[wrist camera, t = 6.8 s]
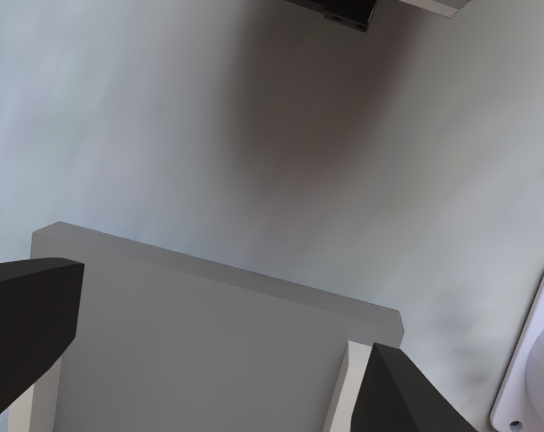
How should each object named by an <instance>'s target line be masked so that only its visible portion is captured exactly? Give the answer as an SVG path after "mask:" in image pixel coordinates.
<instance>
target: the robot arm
mask: <svg viewBox="0 0 544 432" xmlns="http://www.w3.org/2000/svg"><path fill="white" fill-rule="evenodd" d="M84 267H85V264H84V263H81V262H77V261H73V260H70V259H66V258H62V257H49V258H37V259H28V260H21V261H13V262H6V263H0V414H1V413H2V412H3V411H4V410H5V409H6V408H7V407H9V406H10V405H11V404H12V403H13V402H14V401H15V400H16V399H17V398H19V397H20V396H21V395H22V394H23V393H24V392H25V391H26V390H27V389H29V388H30V387H31V386H32V385H33V384H34V383H35V382H36V381H37V380H38V379H39V378H40V377H42V376H43V375H44V374H45V373H46V372H47V371H48V370H49V369H50V368H51V367H52V366H53V364H54V363H55V362H56V361H57V360H58V359H59V358H60V356H61V355H62V354H63V353H64V351H65V350H66V349H67V348H68V346H69V345H70V344H71V343H72V341H73V340H74V339H75V337H76V329H77V322H78V314H79V306H80V298H81V291H82V283H83V275H84ZM490 421H491V424H492V426H493V427H494V428H495V430H497V431H499V432H544V277H543V279H542V282H541V284H540V287H539V290H538V292H537V295H536V297H535V300H534V303H533V305H532V308H531V310H530V313H529V315H528V318H527V321H526V323H525V326H524V328H523V331H522V334H521V336H520V339H519V341H518V344H517V347H516V349H515V352H514V354H513V357H512V360H511V362H510V365H509V367H508V370H507V373H506V375H505V378H504V380H503V383H502V386H501V388H500V391H499V393H498V396H497V399H496V401H495V404H494V406H493V409H492V412H491V414H490ZM513 421H519V423H518V424H517V425H515V426H511V425H510V424H511V422H513ZM350 432H478V431H477V430H476V429H475V428H474V427H473V426H472V425H471V424H470V423H468V422H467V421H466V420H465V419H464V418H463V417H462V416H461V415H460V414H459V413H458V412H457V411H456V410H455V409H454V408H453V407H452V405H451V404H450V403H449V402H448V401H447V400H446V399H445V398H444V397H443V396H442V395H441V394H440V393H439V392H438V390H437V389H436V388H435V387H434V386H433V385H432V384H431V383H430V381H429V380H428V379H427V378H426V377H425V376H424V375H423V373H422V372H421V371H420V370H419V369H418V368H417V367H416V365H415V364H414V363H413V362H412V361H411V360H410V359H409V358H408V356H407V355H406V354H405V353H404V352H403V351H401V350H400V349H398V348H394V347H390V346H387V345H383V344H379V343H376V342H374V343H373V346H372V349H371V353H370V356H369V359H368V363H367V366H366V369H365V373H364V376H363V379H362V383H361V386H360V389H359V392H358V396H357V399H356V402H355V406H354V409H353V412H352V416H351V425H350Z"/></svg>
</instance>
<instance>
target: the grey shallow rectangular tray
mask: <svg viewBox="0 0 544 432" xmlns="http://www.w3.org/2000/svg"><path fill="white" fill-rule="evenodd" d="M49 257H62V258H66V259H70V260H73V261H77V262H81V263H84V264H85V267H84V275H83V283H82V291H81V298H80V306H79V314H78V322H77V329H76V337H75V339H74V340H73V341H72V343H71V344H70V345H69V346H68V348H67V349H66V350H65V351H64V353H63V354H62V355H61V356H60V358H59V359H58V360H57V361H56V362H55V363H54V364H53V366H52V367H51V368H50V369H49V370H48V371H47V372H46V373H45V374H44V375H43V376H42V377H40V378H39V379H38V380H37V381H36V382H35V383H34V384H33V385H32V386H31V387H30V388H29V389H27V390H26V391H25V392H24V393H23V394H22V395H21V396H20V397H19V398H17V399H16V400H15V401H14V402H13V403H12V404H11V405H10V406H9V412H8V423H7V432H350V425H351V416H352V412H353V409H354V406H355V402H356V399H357V396H358V392H359V389H360V386H361V383H362V379H363V376H364V373H365V369H366V366H367V363H368V359H369V356H370V353H371V349H372V346H373V343H374V342H376V343H379V344H383V345H387V346H390V347H394V348H398V349H399V347H400V344H401V341H402V338H403V335H404V328H403V324H402V320H401V317H400V313H399V311H397V310H393V309H389V308H386V307H382V306H378V305H374V304H370V303H367V302H363V301H359V300H355V299H351V298H348V297H344V296H340V295H336V294H333V293H329V292H325V291H321V290H317V289H314V288H310V287H306V286H302V285H298V284H295V283H291V282H287V281H283V280H279V279H276V278H272V277H268V276H264V275H261V274H257V273H253V272H249V271H245V270H242V269H238V268H234V267H230V266H226V265H223V264H219V263H215V262H211V261H208V260H204V259H200V258H196V257H192V256H189V255H185V254H181V253H177V252H173V251H170V250H166V249H162V248H158V247H154V246H151V245H147V244H143V243H139V242H136V241H132V240H128V239H124V238H120V237H117V236H113V235H109V234H105V233H101V232H98V231H94V230H90V229H86V228H83V227H79V226H75V225H71V224H67V223H64V222H57V223H54V224H52V225H49V226H47V227H44V228H42V229H39V230H37V231H34V232H33V234H32V244H31V254H30V259H37V258H49Z"/></svg>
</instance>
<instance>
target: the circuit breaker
mask: <svg viewBox="0 0 544 432" xmlns="http://www.w3.org/2000/svg"><path fill="white" fill-rule="evenodd" d="M287 1H289V2H292V3H295V4H298V5H300V6H303V7H306V8H309V9H312V10H314V11H317V12H320V13H323V14H324V17H325V18H326V19H329V20H331V21H334V22H337V23H340V24H343V25H345V26H348V27H351V28H354V29H356V30H359V31H362V32H367V30H368V27H369V24H370V21H371V19H372V16H373V13H374V10H375V8H376V5H377V2H378V0H287ZM398 1H401V2H404V3H407V4H410V5H412V6H415V7H418V8H421V9H424V10H426V11H429V12H432V13H435V14H438V15H441V16H443V17H446V18H449V19H450V18H451V17H452V16H453V15H454V14H455V13H457V12H458V11H459V10H460V9H461V8H462V7H464V6H465V5H466V4H467V3H468V2H469V1H470V0H398Z"/></svg>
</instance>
